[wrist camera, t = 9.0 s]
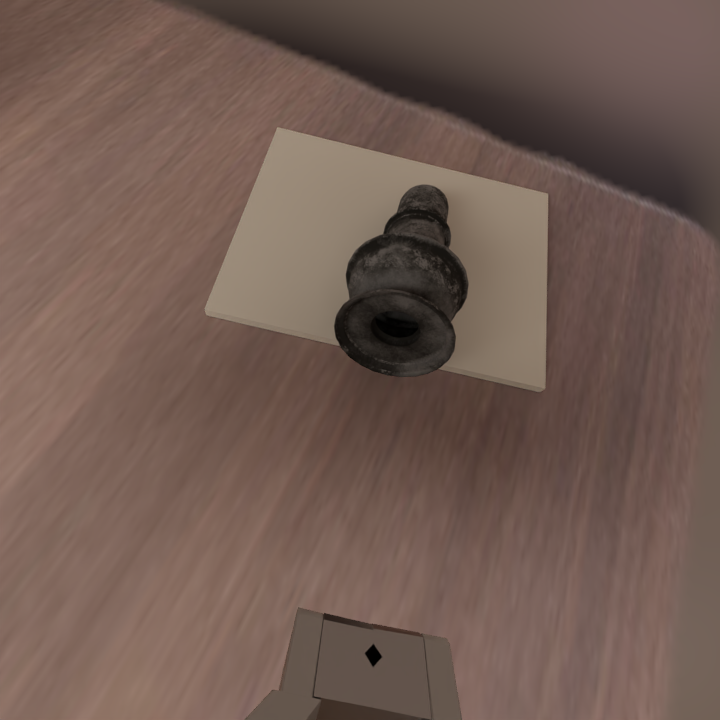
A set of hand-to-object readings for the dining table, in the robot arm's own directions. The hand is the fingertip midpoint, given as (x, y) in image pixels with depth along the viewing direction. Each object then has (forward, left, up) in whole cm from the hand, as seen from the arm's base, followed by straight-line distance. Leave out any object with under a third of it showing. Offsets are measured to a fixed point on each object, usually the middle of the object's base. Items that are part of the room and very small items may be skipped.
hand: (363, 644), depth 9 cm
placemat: (0, +19, -11) cm, 22 cm away
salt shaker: (0, +11, -7) cm, 13 cm away
